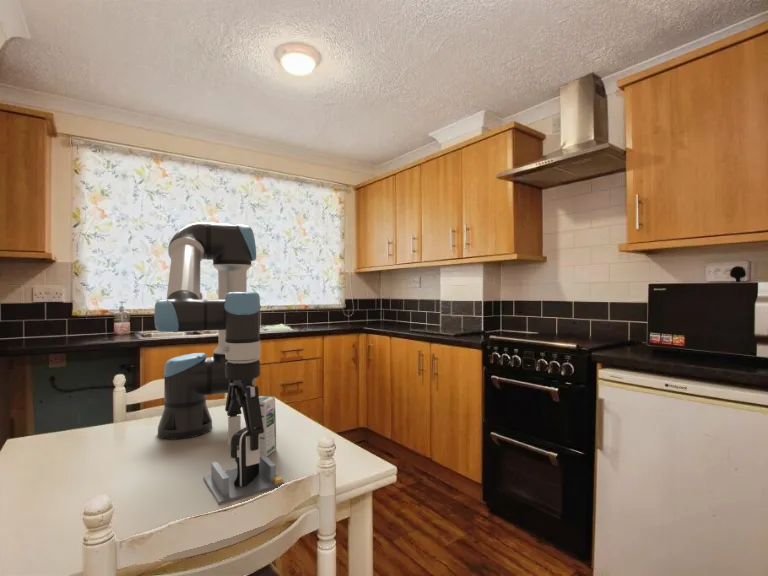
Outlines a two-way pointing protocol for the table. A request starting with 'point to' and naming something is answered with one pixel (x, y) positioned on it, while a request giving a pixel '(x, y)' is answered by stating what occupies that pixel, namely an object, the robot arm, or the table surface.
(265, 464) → the dock
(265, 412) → the syrup box
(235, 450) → the battery
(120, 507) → the table surface
